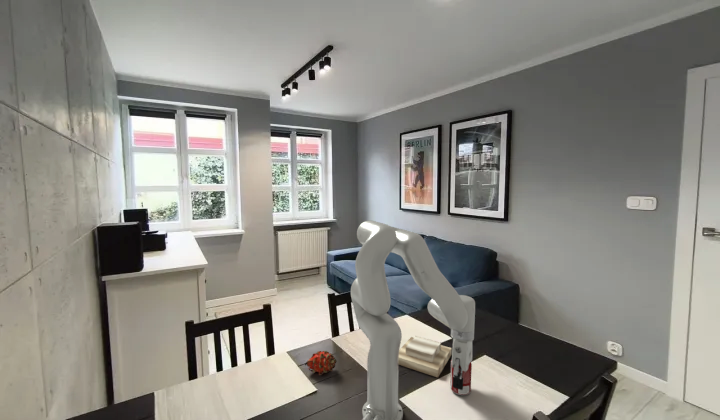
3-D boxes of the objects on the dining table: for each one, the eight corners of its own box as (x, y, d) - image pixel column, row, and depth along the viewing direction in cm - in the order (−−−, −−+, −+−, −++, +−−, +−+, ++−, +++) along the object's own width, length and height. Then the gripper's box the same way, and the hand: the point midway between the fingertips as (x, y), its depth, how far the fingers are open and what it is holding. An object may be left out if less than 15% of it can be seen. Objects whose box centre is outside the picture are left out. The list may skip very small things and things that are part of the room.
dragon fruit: (339, 376, 119) (307, 381, 119) (337, 354, 125) (307, 359, 125) (335, 367, 113) (302, 372, 113) (334, 344, 120) (303, 349, 120)
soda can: (471, 398, 105) (473, 364, 104) (451, 395, 106) (452, 361, 105) (469, 385, 111) (470, 353, 110) (449, 383, 113) (450, 351, 112)
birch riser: (437, 377, 116) (438, 362, 115) (393, 362, 125) (393, 348, 125) (451, 354, 131) (451, 341, 131) (411, 343, 141) (411, 330, 140)
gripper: (467, 346, 97) (465, 401, 99) (479, 325, 112) (477, 373, 114) (443, 340, 101) (442, 392, 103) (457, 320, 116) (456, 366, 118)
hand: (460, 381), depth 108 cm, fingers closed on soda can, 6 cm apart
